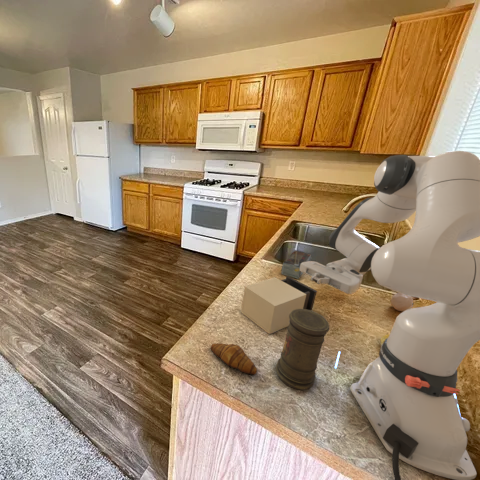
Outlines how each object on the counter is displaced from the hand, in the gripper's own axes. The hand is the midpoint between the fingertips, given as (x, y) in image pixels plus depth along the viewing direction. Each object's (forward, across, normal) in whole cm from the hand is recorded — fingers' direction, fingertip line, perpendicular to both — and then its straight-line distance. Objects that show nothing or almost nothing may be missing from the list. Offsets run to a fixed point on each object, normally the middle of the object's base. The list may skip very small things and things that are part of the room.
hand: (314, 280), depth 97 cm
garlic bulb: (-25, +18, +9) cm, 32 cm away
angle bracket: (+12, 0, +8) cm, 15 cm away
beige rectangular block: (+21, 0, +9) cm, 23 cm away
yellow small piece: (0, +28, +9) cm, 29 cm away
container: (+35, +20, +9) cm, 41 cm away
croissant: (+46, +10, +9) cm, 48 cm away
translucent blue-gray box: (-18, -20, +9) cm, 28 cm away
